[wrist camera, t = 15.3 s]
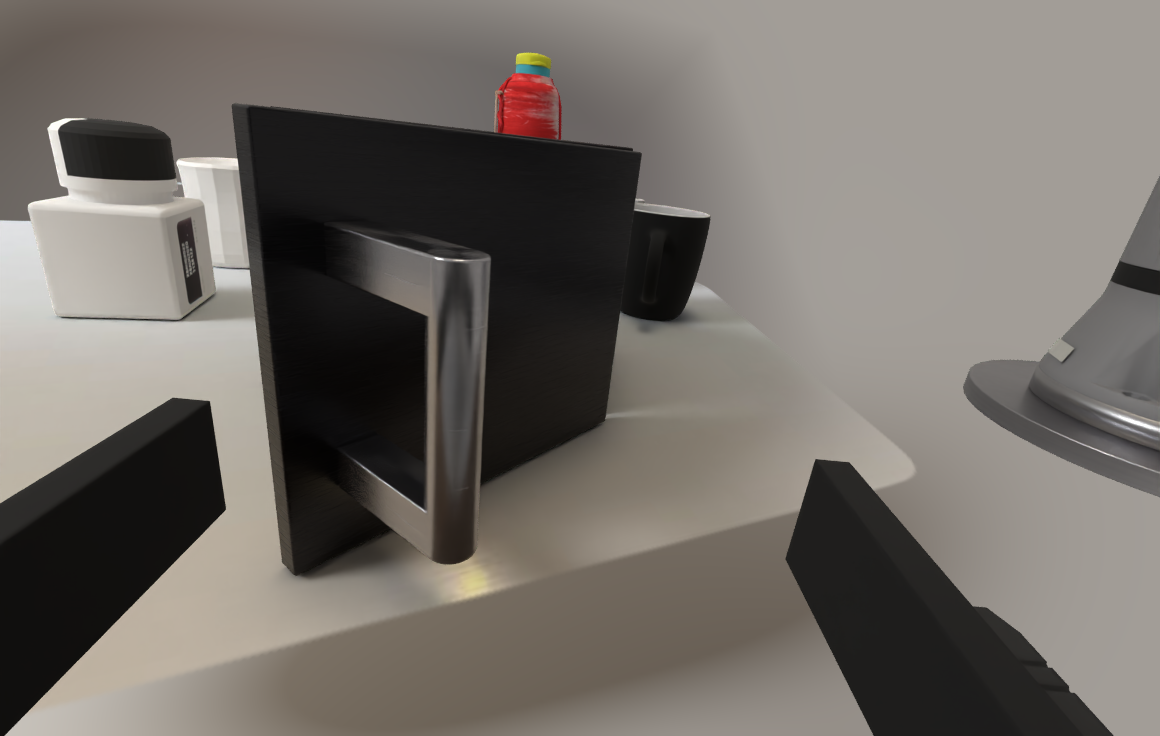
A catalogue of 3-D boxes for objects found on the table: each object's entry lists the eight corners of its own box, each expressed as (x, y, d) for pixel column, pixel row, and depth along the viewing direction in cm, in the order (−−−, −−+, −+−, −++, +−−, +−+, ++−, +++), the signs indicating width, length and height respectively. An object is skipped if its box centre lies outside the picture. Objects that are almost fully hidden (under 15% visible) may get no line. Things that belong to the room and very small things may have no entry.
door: (693, 461, 29) (756, 165, 24) (396, 683, 16) (385, 118, 10) (591, 415, 33) (625, 150, 28) (281, 563, 20) (229, 102, 14)
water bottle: (476, 258, 72) (485, 38, 63) (461, 246, 79) (467, 46, 70) (561, 260, 78) (580, 57, 68) (540, 248, 84) (555, 62, 75)
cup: (274, 247, 66) (266, 160, 62) (310, 265, 60) (304, 169, 56) (178, 251, 59) (163, 153, 55) (207, 272, 53) (192, 164, 49)
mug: (610, 295, 62) (622, 200, 58) (691, 307, 61) (709, 211, 57) (593, 324, 51) (607, 209, 47) (692, 340, 50) (715, 223, 46)
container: (217, 293, 47) (195, 127, 43) (181, 321, 40) (150, 127, 36) (109, 289, 45) (73, 115, 41) (52, 318, 38) (0, 111, 34)
